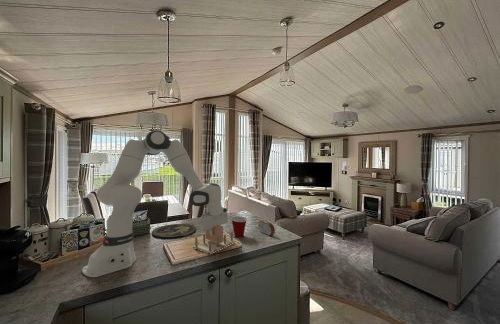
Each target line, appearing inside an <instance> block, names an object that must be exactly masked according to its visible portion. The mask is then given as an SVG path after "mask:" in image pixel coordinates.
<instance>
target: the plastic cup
mask: <svg viewBox="0 0 500 324" xmlns="http://www.w3.org/2000/svg"><path fill="white" fill-rule="evenodd" d="M230 219H231V222H232V231H233V233H234V234H233V235H234V238H243V237H244V236H245V229H246V224H247V221H248V218H247V217H244V216H240V215H239V216H237V215H236V216H233V217H232V216H231V217H230Z"/></svg>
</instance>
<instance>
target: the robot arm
mask: <svg viewBox="0 0 500 324" xmlns="http://www.w3.org/2000/svg"><path fill="white" fill-rule="evenodd" d="M161 153H162V154H164V155H165V157H166V158H167V159H168V162H169V163H170V165H171V167H172V168H173V170H174V171H175V173H179V174H181V175H182V176H183V177H184V178H185V179H186V180H187V181H188V183H189V185H190V187H191V189H192V192H191V193H190V194H189V202H190V204H191V205H192V206H194V207H201V206H202V207H203V206H206V207H205V208H206V210H205V211H206V213H202V214H201V216H200V219H199V220H200V221H199V230H200V231H202V232H206V230H209V232H210V235H211V236H212V235H214V232H213V231H212V230H213V228H214V227H215V226H217V225H219V226H223V225H225V224H227V223H228V220H229V219H228V218H229V217H228V208H227V207H223V206H222V205H223V204H222V189H221V188H222V187H221V186H220V185H219V184H217V183H214V182H208V183H207V184H205V185H204V184H202V181H201V180H200V179H199V178H200V177H198V175H197V174H196V171H195V169H194V166H193V164H192V160H191V158H190V156H189V154H188V152H187V150H186V149H185V147H184V145H183V144H182V143H181V142H180V140H179V139H176V138H175V139H174V138H172V139H171V138H170V137H169V136H168V135H167V134H166V133H165V132H164V131H162V130H160V129H154V130H151V131H149V132H148V133H147V134H146V136H145V138H143V139H138V138H132V139H129V140H128V141H127V142H126V144H125V145H124V147H123V149H122V152H121V154H120V156H119V158H118V161H117V164H116V166H115V168H114V171H113V172H112V174H111V175H110V177H109V178H108V180H107V181H106V182H105V183H104V184H103V185H101V186H100V187H99V188H98V189H97V191H96V198H97V200H98V202H100V203H102V204H103V205H106V206H111V207H112V210H111V211H112V212H111V214H110V216H108V218H107V220H106V236H105V237H103V236H100V237H99V238H98V242H100V243H102V245H101V246H99V248H97V249H96V250H95V251H94V252H93V253H92V254H91V255H90V256H89V258H88V264H87V265H85V266H83V267H82V268H81V269H82V274H83V275H84V276H86V277H88V278H98V277H101V276H104V275H108V274H111V273H114V272H117V271H121V270H123V269H128V268H131V267H132V266H133V263H135V262H136V261H137V256H136V253H135V249H134V231H133V215H134V213H135V210H136V207H137V206H138V205H139V204H140V203H141V201H142V199H143V193H142V190H141V189H140V188H139V187H137V186H134V185H131V183H132V182H133V181H134V180H135V179H137V178H138V177H139V175H140V173H141V169H142V166H143V163H144V160H145V157H146V156H156V155H159V154H161Z"/></svg>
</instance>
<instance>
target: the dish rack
mask: <svg viewBox="0 0 500 324" xmlns="http://www.w3.org/2000/svg"><path fill="white" fill-rule="evenodd" d="M233 233H234V231H231V232H230V238H227V235H226V234H223V242H222V243H219V238H217V242H215V241H211V240H208V239H206V233H203V235H202V241H201V242H199V243H198V237H197V236H196V237H194V240H195V242H194V243H195V244H193V245H192V249H193V248H196V249H199V250H202V251H205V252H209V253H211V254H212V253H213V252H215V251H218V250H220V249H222V248H224V247H226V246H228V245H230V244H232V243H234V242H235V243H236V240H234V239H233V235H234V234H233ZM228 247H229V246H228ZM226 248H227V247H226ZM196 249H195V250H196ZM224 249H225V248H224ZM199 250H198V251H199ZM222 250H223V249H222ZM202 251H201V252H202ZM220 251H221V250H220ZM205 252H204V253H205ZM218 252H219V251H218ZM211 254H210V255H211ZM212 255H213V254H212Z"/></svg>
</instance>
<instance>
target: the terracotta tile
mask: <svg viewBox="0 0 500 324" xmlns="http://www.w3.org/2000/svg"><path fill="white" fill-rule="evenodd" d="M212 231H213V232H214V235H212V236H211V235H210V232H209V230H206V231H205V240H211V241H215V242H217V238H219V243H222V242H223V238H224V225H220V226H219V225H217V226H215V227H214V228H213V230H212Z"/></svg>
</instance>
